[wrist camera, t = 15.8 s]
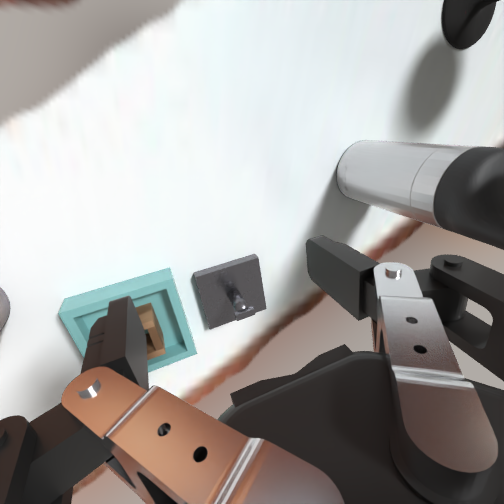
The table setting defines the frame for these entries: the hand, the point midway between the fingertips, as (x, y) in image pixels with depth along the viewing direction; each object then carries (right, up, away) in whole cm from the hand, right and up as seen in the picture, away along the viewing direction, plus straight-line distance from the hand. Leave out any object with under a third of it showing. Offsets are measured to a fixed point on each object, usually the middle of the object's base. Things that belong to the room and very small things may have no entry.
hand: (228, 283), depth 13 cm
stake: (-2, -5, +34) cm, 34 cm away
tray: (-16, -9, +30) cm, 35 cm away
